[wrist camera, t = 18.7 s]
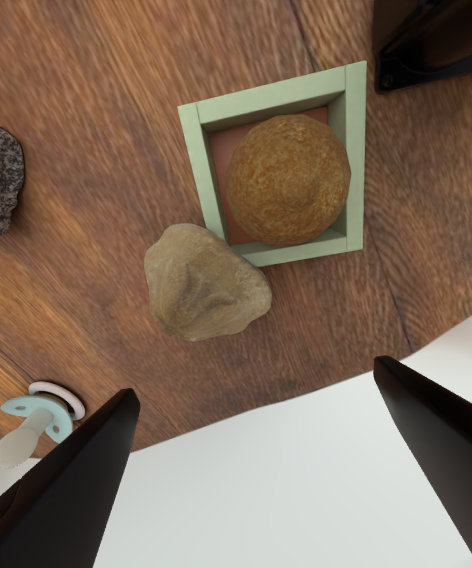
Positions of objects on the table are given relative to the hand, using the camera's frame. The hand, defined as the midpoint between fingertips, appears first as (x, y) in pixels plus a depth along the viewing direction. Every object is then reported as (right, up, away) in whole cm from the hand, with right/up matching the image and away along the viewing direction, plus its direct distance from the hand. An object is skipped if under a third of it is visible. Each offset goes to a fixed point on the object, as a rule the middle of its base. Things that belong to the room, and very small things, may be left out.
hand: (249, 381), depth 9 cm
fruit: (+2, +10, +8) cm, 13 cm away
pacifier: (-20, -9, +18) cm, 29 cm away
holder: (+2, +11, +8) cm, 14 cm away
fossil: (-2, 0, +6) cm, 7 cm away
